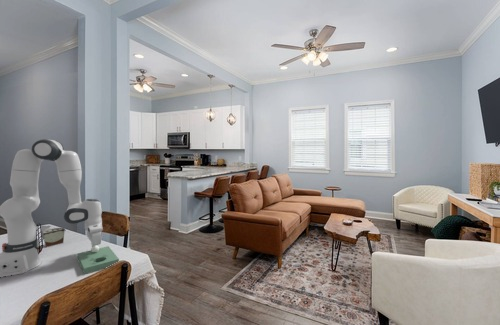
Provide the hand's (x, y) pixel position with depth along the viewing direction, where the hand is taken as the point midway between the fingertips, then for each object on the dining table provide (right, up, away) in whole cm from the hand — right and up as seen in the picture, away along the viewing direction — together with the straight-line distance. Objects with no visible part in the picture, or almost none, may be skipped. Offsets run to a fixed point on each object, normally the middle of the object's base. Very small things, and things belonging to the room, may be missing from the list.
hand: (93, 248), depth 143 cm
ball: (+3, +1, -3) cm, 4 cm away
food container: (-38, -3, +16) cm, 42 cm away
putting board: (+8, -5, -8) cm, 12 cm away
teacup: (-56, -3, +27) cm, 62 cm away
